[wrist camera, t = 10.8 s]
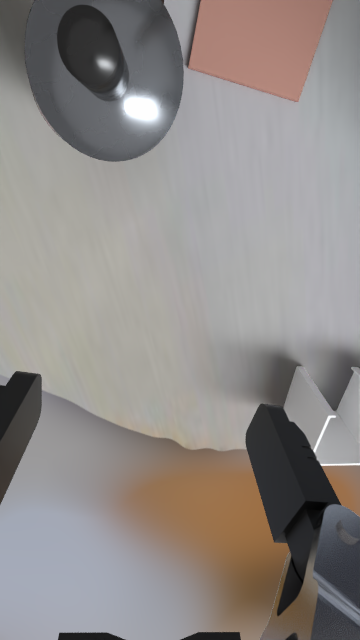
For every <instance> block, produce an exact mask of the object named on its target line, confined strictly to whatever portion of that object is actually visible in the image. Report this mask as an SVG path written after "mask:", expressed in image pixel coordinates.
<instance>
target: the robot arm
mask: <svg viewBox="0 0 360 640" xmlns="http://www.w3.org/2000/svg"><path fill="white" fill-rule="evenodd" d="M41 392H42V379H41V375H40V374H35V373H28V372H20V371H16V372H15V373H14V374H13V376H12V377H11V378H10V380H9V382H8V383H7V385H6V386H2V385H0V504H1V502H2V500H3V498H4V495H5V493H6V491H7V489H8V487H9V485H10V482H11V480H12V478H13V475H14V474H15V471H16V469H17V467H18V465H19V463H20V460H21V458H22V456H23V454H24V452H25V450H26V447H27V445H28V443H29V441H30V439H31V437H32V434H33V432H34V430H35V428H36V426H37V423H38V420H39V417H40V413H41V405H42V404H41V403H42V402H41V401H42V400H41V396H42V395H41ZM246 447H247V451H248V454H249V457H250V461H251V465H252V468H253V471H254V474H255V478H256V482H257V485H258V488H259V492H260V495H261V499H262V502H263V506H264V509H265V512H266V516H267V519H268V523H269V526H270V529H271V533H272V536H273V540H274V542H276V543H288V546H289V549H290V553H289V554H288V555H287V558H286V562H285V565H284V569H283V573H282V576H281V580H280V583H279V587H278V591H277V594H276V598H275V602H274V605H273V609H272V613H271V617H270V619H269V621H268V624H267V626H266V628H265V630H264V632H263V634H262V636H261V638H260V640H360V517H359V516H357V515H356V514H355V513H354V512H352V511H351V510H350V509H348V508H346V507H344V506H342V505H341V503H340V502H339V500H338V498H337V496H336V494H335V492H334V490H333V488H332V486H331V484H330V483H329V480H328V478H327V477H326V475H325V473H324V471H323V469H322V467H321V465H320V463H319V461H318V460H317V457H316V455H315V453H314V451H313V449H311V445H310V443H309V441H308V439H307V438H306V436H305V434H304V433H303V431H302V430H301V429H300V428H299V427H298V426H297V425H296V424H295V423H294V422H291V421H289V419H288V417H287V415H286V412H285V410H284V409H283V407H281V406H276V405H268V404H261V405H259V407H258V409H257V411H256V413H255V415H254V417H253V419H252V421H251V423H250V425H249V427H248V429H247V432H246ZM58 640H125V639H122V638H120V637H117V636H114V635H112V634H109V633H59V638H58ZM181 640H241V639H240V633H239V632H198V633H196V634H193V635H191V636H188V637H186V638H184V639H181Z"/></svg>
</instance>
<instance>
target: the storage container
mask: <svg viewBox="0 0 360 640" xmlns="http://www.w3.org/2000/svg"><path fill="white" fill-rule="evenodd" d="M351 369H352V370H353V371H354V373H353V375H352V377H351V379H350V382H349V384H348V386H347V388H346V391H345V393H344V395H343V397H342V399H341V402H340V404H339V406H338V408H337V411H333V410H332V408H331V407H330V405H329V404H328V403H327V401H326V400H325V398H324V397H323V395H322V394H321V392H320V391H319V389H318V388H317V386H316V385H315V383H314V382H313V380H312V379H311V377H310V376H309V374H308V373H307V371H306V370H305V368H304V367H303V366H297V367H296V370H295V373H294V376H293V379H292V383H291V386H290V389H289V392H288V395H287V398H286V401H285V404H284V407H283V409H284V410H285V412H286V415H287V417H288V419H289V421H291V422H294V423H295V424H296V425H297V426H298V427H299V428H300V429H301V430H302V431H303V433H304V434H305V436H306V438H307V439H308V441H309V443H310V445H311V449H313V451H314V453H315V455H316V457H317V460H318V461H319V463H320V465H321V466H322V465H360V368H359V367H352V368H351Z"/></svg>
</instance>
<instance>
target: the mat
mask: <svg viewBox="0 0 360 640" xmlns="http://www.w3.org/2000/svg"><path fill="white" fill-rule="evenodd" d="M332 1H333V0H201V2H200V7H199V13H198V18H197V23H196V29H195V34H194V39H193V45H192V50H191V56H190V61H189V66H188V68H189V69H192V70H196V71H199V72H202V73H205V74H208V75H212V76H215V77H218V78H221V79H224V80H228V81H231V82H234V83H237V84H240V85H244V86H247V87H250V88H253V89H256V90H260V91H263V92H266V93H269V94H272V95H276V96H279V97H282V98H285V99H289V100H292V101H295V102H298V101H299V98H300V95H301V92H302V89H303V86H304V83H305V80H306V77H307V75H308V72H309V69H310V66H311V63H312V60H313V57H314V54H315V51H316V48H317V45H318V42H319V39H320V37H321V34H322V31H323V28H324V25H325V22H326V19H327V16H328V13H329V10H330V7H331V4H332Z"/></svg>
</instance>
